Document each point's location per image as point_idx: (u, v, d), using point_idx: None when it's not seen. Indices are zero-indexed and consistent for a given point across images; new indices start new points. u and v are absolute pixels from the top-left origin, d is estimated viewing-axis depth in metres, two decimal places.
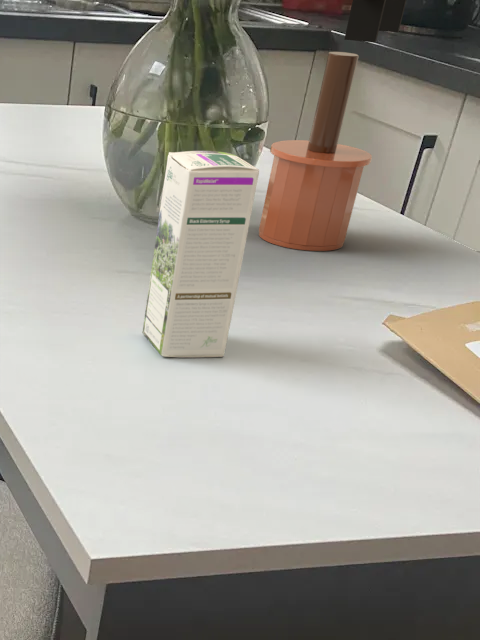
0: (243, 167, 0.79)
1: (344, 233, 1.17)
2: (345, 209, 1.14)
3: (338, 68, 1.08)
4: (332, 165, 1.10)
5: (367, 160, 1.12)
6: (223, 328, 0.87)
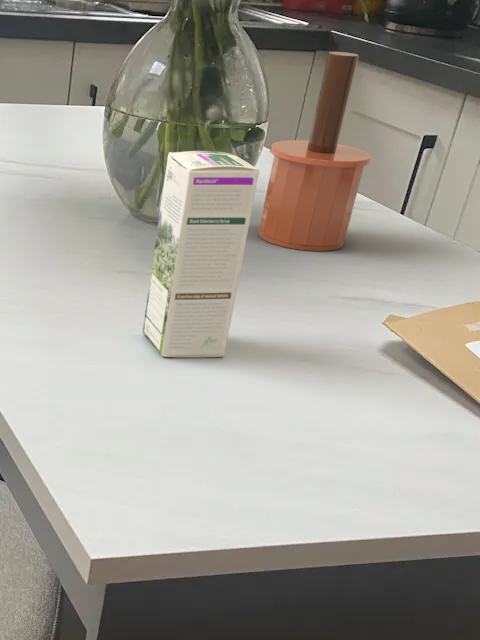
0: (243, 167, 0.79)
1: (344, 233, 1.17)
2: (345, 209, 1.14)
3: (338, 68, 1.08)
4: (332, 165, 1.10)
5: (367, 160, 1.12)
6: (223, 328, 0.87)
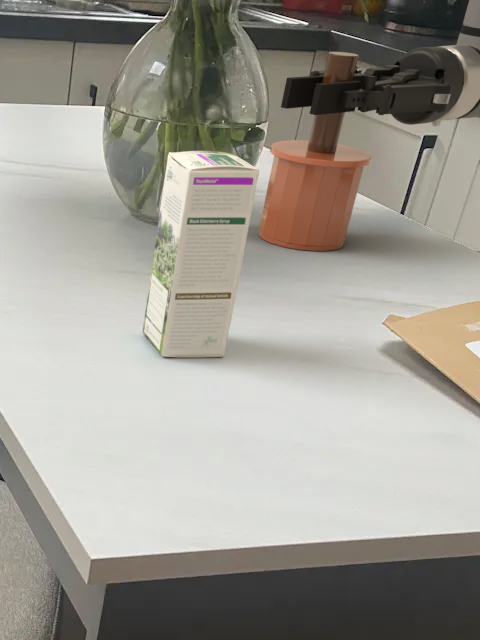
0: (243, 167, 0.79)
1: (344, 233, 1.17)
2: (345, 209, 1.14)
3: (338, 68, 1.08)
4: (332, 165, 1.10)
5: (367, 160, 1.12)
6: (223, 328, 0.87)
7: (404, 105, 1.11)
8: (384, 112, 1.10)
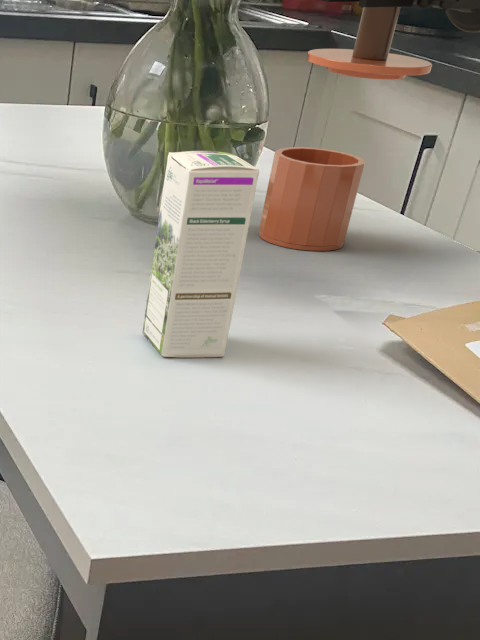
0: (243, 167, 0.79)
1: (344, 233, 1.17)
2: (345, 209, 1.14)
3: None
4: (385, 72, 0.90)
5: (427, 67, 0.91)
6: (223, 328, 0.87)
7: None
8: (449, 6, 0.89)
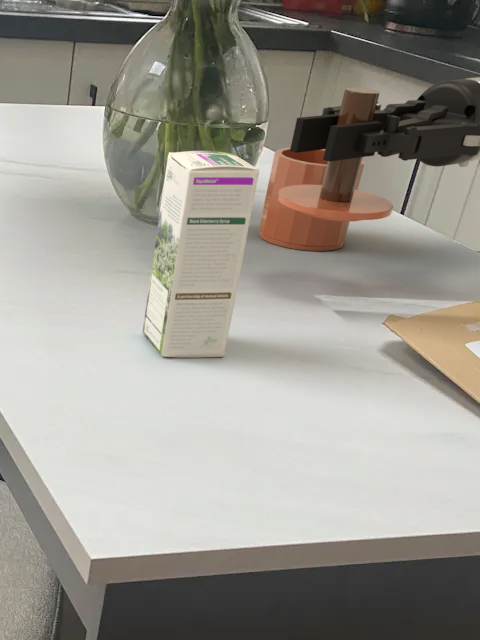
0: (243, 167, 0.79)
1: (344, 233, 1.17)
2: None
3: (356, 107, 0.94)
4: (348, 217, 0.96)
5: (388, 211, 0.98)
6: (223, 328, 0.87)
7: (431, 149, 0.97)
8: (408, 157, 0.96)
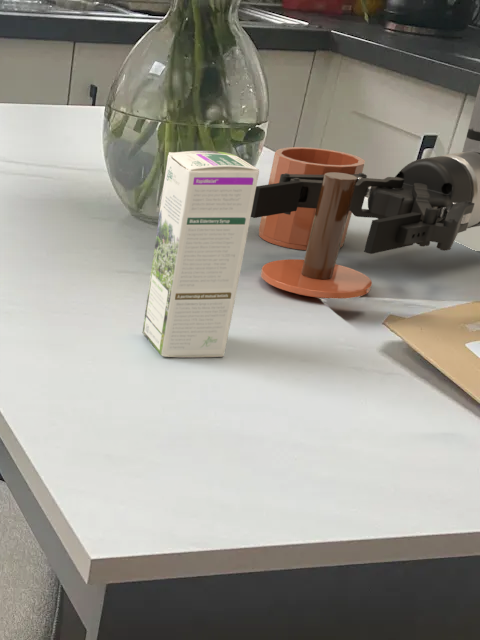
0: (243, 167, 0.79)
1: (344, 233, 1.17)
2: None
3: (334, 192, 0.99)
4: (328, 296, 1.01)
5: (366, 289, 1.02)
6: (223, 328, 0.87)
7: (455, 235, 1.00)
8: (449, 247, 0.98)
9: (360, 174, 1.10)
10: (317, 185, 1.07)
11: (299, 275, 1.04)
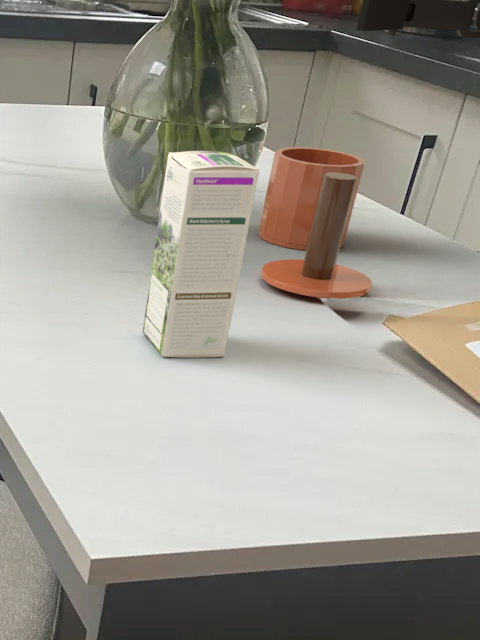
0: (243, 167, 0.79)
1: (344, 233, 1.17)
2: None
3: (334, 192, 0.99)
4: (328, 296, 1.01)
5: (366, 289, 1.02)
6: (223, 328, 0.87)
7: None
8: None
9: None
10: (425, 1, 1.02)
11: (299, 275, 1.04)
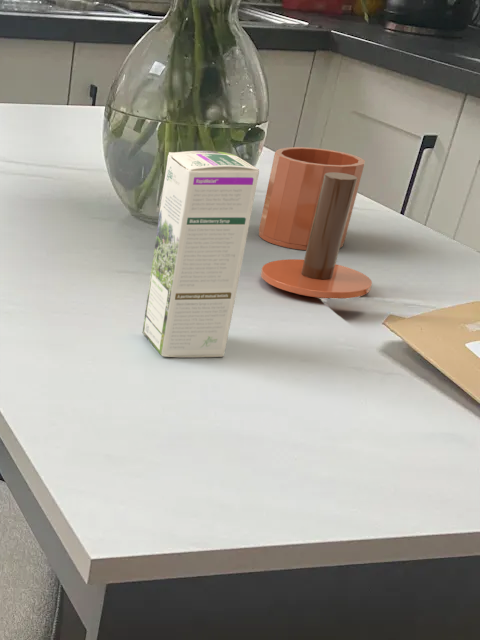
0: (243, 167, 0.79)
1: (344, 233, 1.17)
2: None
3: (334, 192, 0.99)
4: (328, 296, 1.01)
5: (366, 289, 1.02)
6: (223, 328, 0.87)
7: None
8: None
9: None
10: None
11: (299, 275, 1.04)
